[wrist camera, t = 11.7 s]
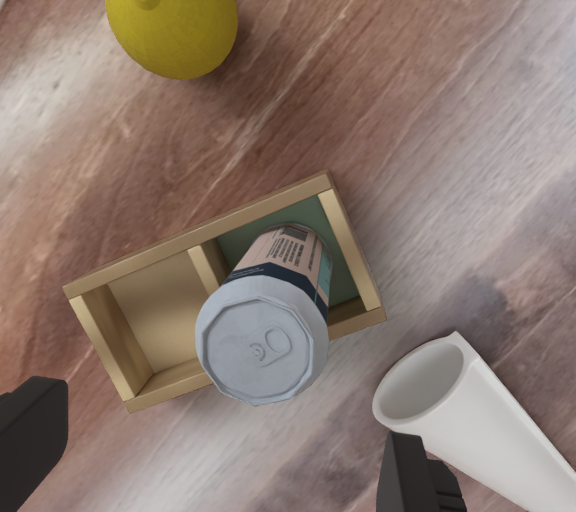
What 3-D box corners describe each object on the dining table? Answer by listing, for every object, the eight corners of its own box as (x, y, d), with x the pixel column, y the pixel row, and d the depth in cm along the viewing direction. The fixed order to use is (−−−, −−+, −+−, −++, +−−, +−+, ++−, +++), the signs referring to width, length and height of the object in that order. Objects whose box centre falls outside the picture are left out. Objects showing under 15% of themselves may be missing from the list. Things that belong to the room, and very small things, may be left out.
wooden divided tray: (92, 269, 31) (60, 287, 27) (328, 167, 28) (326, 172, 24) (152, 383, 32) (129, 414, 29) (382, 297, 29) (387, 320, 26)
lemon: (256, 79, 27) (223, 59, 19) (157, 91, 28) (87, 76, 20) (244, -34, 26) (203, -105, 18) (140, -19, 26) (58, -81, 19)
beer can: (231, 250, 29) (158, 331, 17) (301, 204, 28) (274, 256, 16) (279, 318, 29) (240, 440, 18) (349, 275, 28) (356, 375, 17)
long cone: (537, 576, 35) (363, 387, 30) (616, 523, 34) (448, 320, 29) (589, 662, 29) (385, 446, 25) (685, 601, 28) (491, 366, 24)
